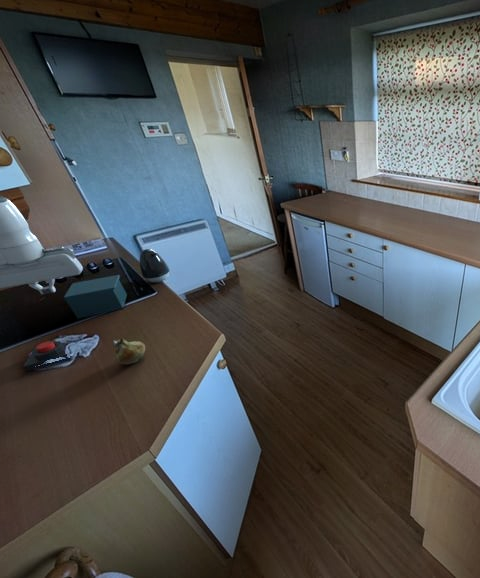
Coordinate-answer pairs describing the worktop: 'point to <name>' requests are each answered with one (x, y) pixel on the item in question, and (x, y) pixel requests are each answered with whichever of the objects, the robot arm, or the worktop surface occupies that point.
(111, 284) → the lid
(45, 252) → the robot arm
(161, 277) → the black egg-shaped dome
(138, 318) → the worktop surface
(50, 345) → the button
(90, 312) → the tin
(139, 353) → the onion
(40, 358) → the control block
